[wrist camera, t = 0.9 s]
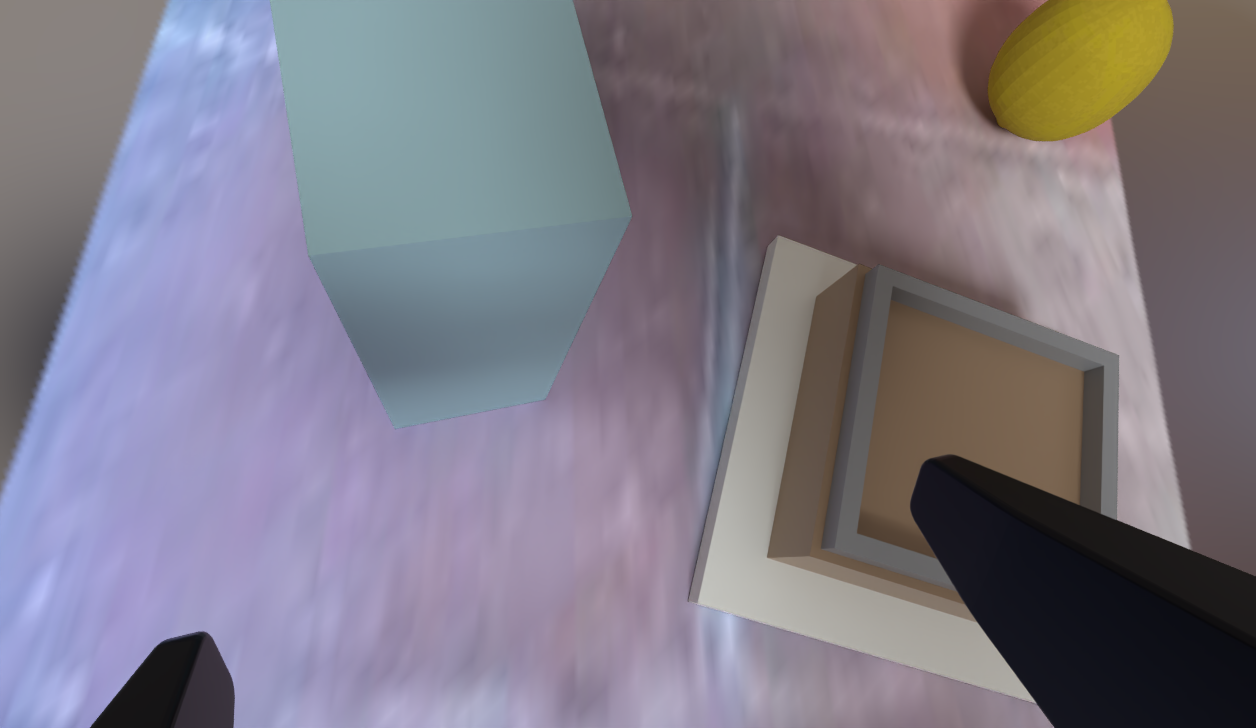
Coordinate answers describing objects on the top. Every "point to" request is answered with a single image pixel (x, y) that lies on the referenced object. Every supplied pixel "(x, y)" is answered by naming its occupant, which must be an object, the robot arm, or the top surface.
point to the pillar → (451, 190)
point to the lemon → (1077, 65)
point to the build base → (754, 501)
